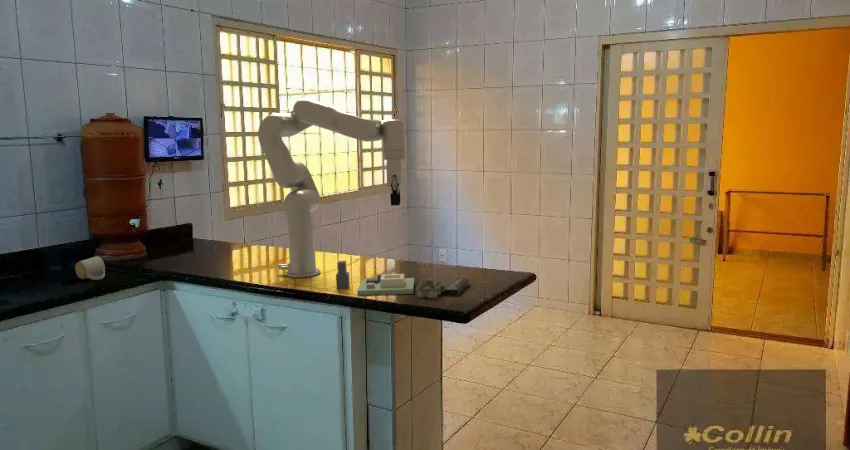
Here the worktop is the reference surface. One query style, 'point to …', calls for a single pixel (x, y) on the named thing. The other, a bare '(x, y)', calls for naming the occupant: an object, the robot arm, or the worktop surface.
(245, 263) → the worktop surface
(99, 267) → the ceramic mug
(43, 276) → the worktop surface
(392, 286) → the board
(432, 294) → the egg carton
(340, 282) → the plug
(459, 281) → the multiport hub
